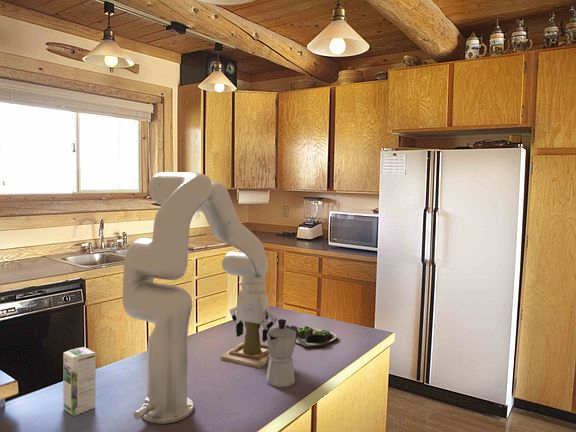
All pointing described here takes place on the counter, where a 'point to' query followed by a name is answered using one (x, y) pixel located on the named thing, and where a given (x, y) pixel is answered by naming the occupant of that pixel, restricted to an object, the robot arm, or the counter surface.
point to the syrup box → (78, 380)
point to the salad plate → (314, 337)
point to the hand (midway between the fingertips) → (252, 337)
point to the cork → (252, 339)
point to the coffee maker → (281, 355)
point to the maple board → (247, 356)
